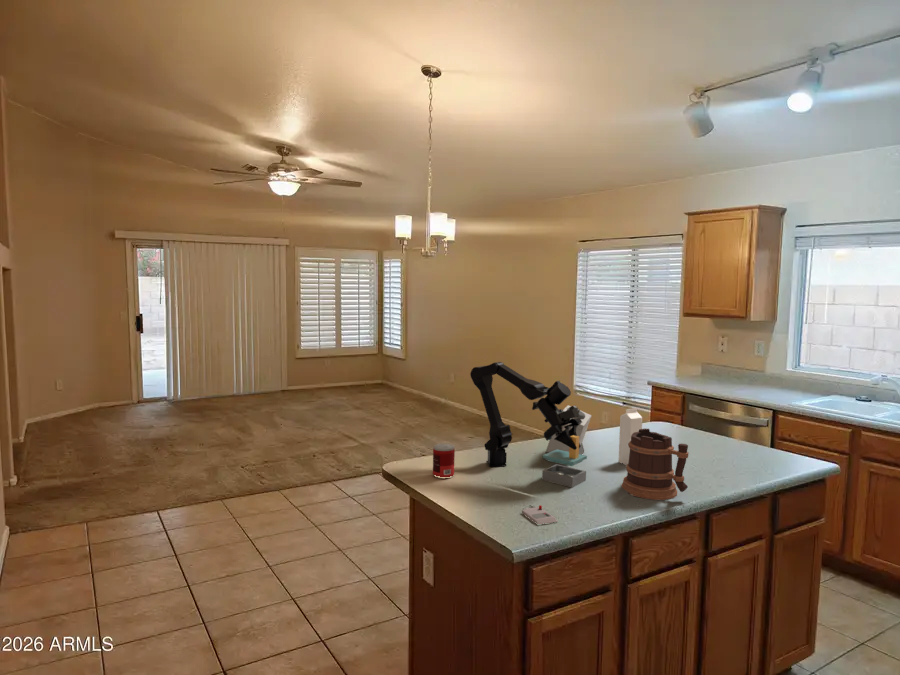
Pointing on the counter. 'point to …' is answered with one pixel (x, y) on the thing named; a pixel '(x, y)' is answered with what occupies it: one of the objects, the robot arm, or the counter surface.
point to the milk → (628, 432)
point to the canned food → (443, 460)
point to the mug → (654, 466)
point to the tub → (563, 479)
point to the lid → (566, 455)
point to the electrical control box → (539, 515)
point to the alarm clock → (579, 431)
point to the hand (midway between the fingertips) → (577, 448)
